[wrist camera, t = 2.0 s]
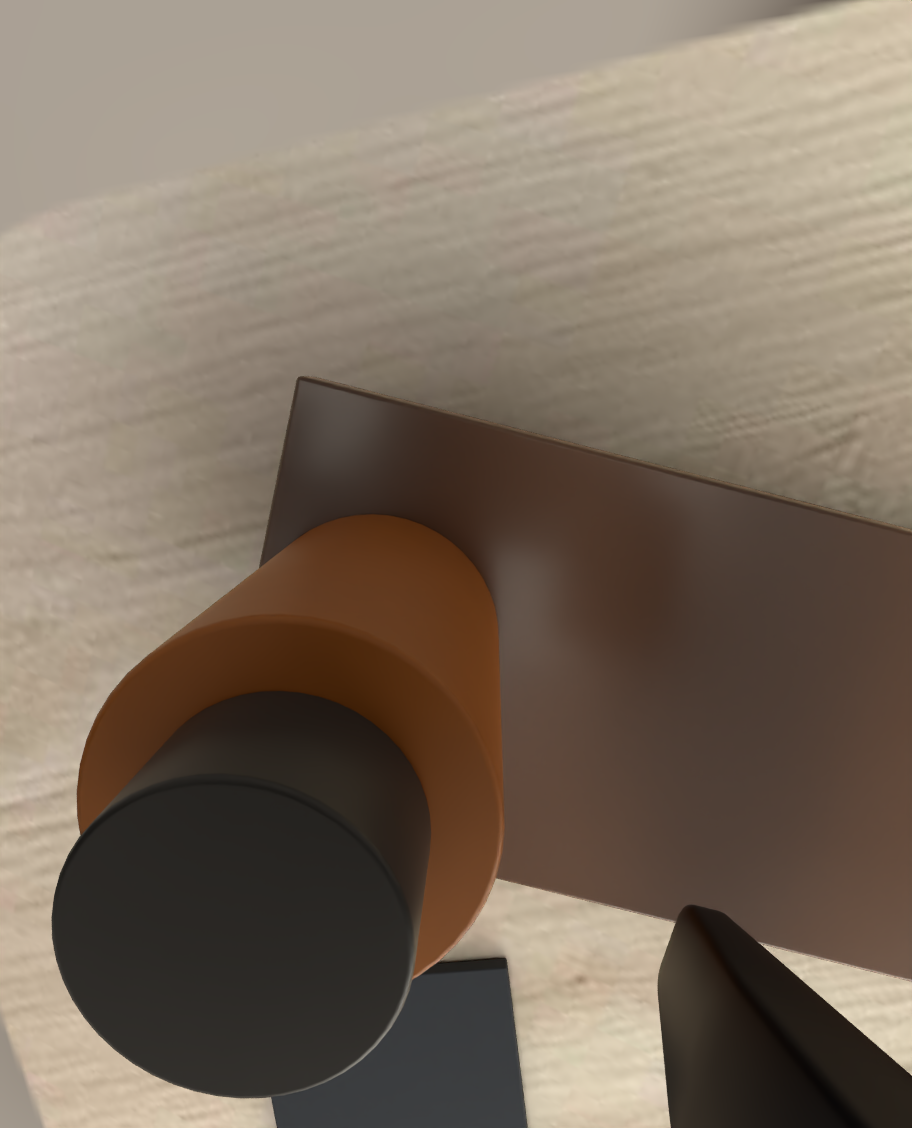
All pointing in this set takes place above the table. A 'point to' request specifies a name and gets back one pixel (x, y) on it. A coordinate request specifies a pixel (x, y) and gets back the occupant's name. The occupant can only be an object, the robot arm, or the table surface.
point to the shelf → (660, 668)
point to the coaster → (429, 1062)
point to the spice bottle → (289, 814)
